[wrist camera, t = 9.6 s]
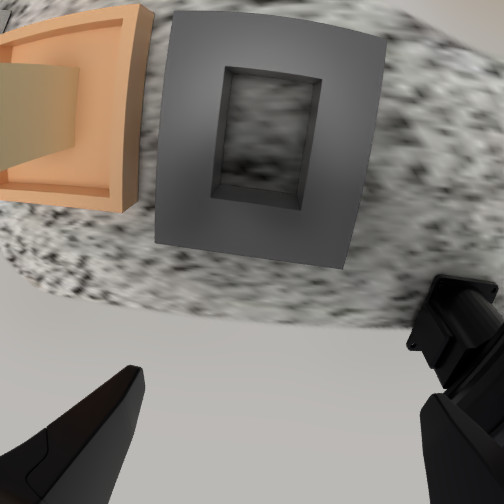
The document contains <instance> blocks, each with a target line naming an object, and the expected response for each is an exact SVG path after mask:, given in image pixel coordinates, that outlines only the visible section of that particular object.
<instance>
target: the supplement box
mask: <svg viewBox="0 0 504 504" xmlns="http://www.w3.org/2000/svg"><path fill="white" fill-rule="evenodd" d="M10 13H11V11H7V10H1V9H0V34H3V31H4V29H5V26H6V23H7V21H8V18H9V16H10Z"/></svg>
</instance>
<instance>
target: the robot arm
mask: <svg viewBox="0 0 504 504" xmlns="http://www.w3.org/2000/svg"><path fill="white" fill-rule="evenodd" d="M440 281H442V282H441V283H440V284H439V282H440ZM492 289H493V290H492ZM497 292H498V285H497V284H496V283H494V282H488V281H481V280H475V279H468V278H461V277H454V276H447V275H438V276H436V277H435V279H434V280H433V283H432V286H431V288H430V291H429V293H428V296H427V298H426V300H425V303H424V304H423V306H422V308H421V311H420V313H419V315H418V318H417V320H416V322H415V324H414V327H413V329H412V332H411V334H410V336H409V339H408V341H407V343H406V346H407V348H408V349H409V350H410V351H422V353H423V355H424V357H425V359H426V361H427V363H428V365H429V367H430V368H431V369H434V370H435V372H436V374H437V377H438V378H439V381H440V383H441V385H442V387H443V389H447V390H446V391H445V392H444V393H437V394H436V393H435V394H432V395H431V396H430V397H429V398H428V400H427V401H426V403H425V405H424V406H423V407H422V409H421V412H420V423H421V434H422V447H423V456H424V462H425V469H426V475H427V482H428V489H429V497H430V504H504V318H503V317H502V316H501V315H500V314H499V312H498V311H497V310H496V309H495V308H494V307H493V305H492V303H493V300H494V298H495V296H496V294H497ZM412 344H413V345H412ZM144 393H145V381H144V375H143V369H142V368H141V367H138V366H134V365H128V366H126V367H125V368H124V369H122V370H121V371H120V372H118V373H117V374H116V375H114V376H113V377H112V378H111V379H109V380H108V381H107V382H105V383H104V384H103V385H101V386H100V387H99V388H97V389H96V390H95V391H93V392H92V393H91V394H89V395H88V396H87V397H85V398H84V399H83V400H81V401H80V402H79V403H77V404H76V405H75V406H73V407H72V408H71V409H69V410H68V411H67V412H66V413H64V414H63V415H61V416H60V417H59V418H57V419H56V420H55V421H53V422H52V423H51V424H49V425H48V426H47V428H44V429H43V430H41V431H40V432H38V433H37V434H36V435H34V436H33V437H31V438H30V439H29V440H27V441H26V442H24V443H22V444H21V445H19V446H17V447H16V448H14V449H12V450H11V451H9V452H7V453H5V454H4V455H2V456H0V504H108V502H109V499H110V497H111V494H112V491H113V489H114V486H115V483H116V480H117V478H118V475H119V472H120V470H121V467H122V464H123V461H124V459H125V456H126V454H127V451H128V449H129V446H130V443H131V441H132V438H133V435H134V431H135V428H136V424H137V419H138V415H139V412H140V408H141V404H142V400H143V396H144Z"/></svg>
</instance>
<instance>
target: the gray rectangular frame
mask: <svg viewBox="0 0 504 504" xmlns="http://www.w3.org/2000/svg"><path fill="white" fill-rule="evenodd" d="M386 46H387V39H383V38H380V37H377V36H373V35H370V34H366V33H362V32H358V31H354V30H350V29H346V28H342V27H337V26H333V25H328V24H323V23H318V22H313V21H307V20H301V19H295V18H288V17H281V16H273V15H265V14H255V13H243V12H227V11H174V14H173V20H172V26H171V33H170V39H169V46H168V53H167V60H166V68H165V76H164V85H163V94H162V103H161V114H160V125H159V138H158V153H157V171H156V195H155V243H157V244H164V245H171V246H178V247H185V248H192V249H199V250H206V251H213V252H220V253H227V254H235V255H242V256H249V257H256V258H263V259H270V260H278V261H285V262H292V263H299V264H307V265H314V266H321V267H329V268H336V269H343V267H344V264H345V260H346V256H347V252H348V249H349V245H350V241H351V237H352V233H353V229H354V225H355V221H356V217H357V212H358V208H359V204H360V199H361V195H362V190H363V186H364V181H365V176H366V172H367V167H368V162H369V157H370V152H371V146H372V141H373V135H374V130H375V124H376V118H377V112H378V106H379V99H380V93H381V86H382V79H383V71H384V63H385V55H386ZM233 73H237V74H247V75H257V76H265V77H272V78H280V79H286V80H293V81H299V82H305V83H311V84H314V89H313V95H312V102H311V109H310V116H309V122H308V129H307V135H306V141H305V147H304V154H303V160H302V166H301V172H300V178H299V184H298V190H297V195H295V194H288V193H281V192H275V191H268V190H261V189H253V188H246V187H238V186H230V185H222V184H220V176H221V167H222V158H223V149H224V140H225V131H226V123H227V114H228V106H229V98H230V90H231V83H232V75H233Z"/></svg>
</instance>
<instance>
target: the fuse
mask: <svg viewBox="0 0 504 504" xmlns="http://www.w3.org/2000/svg"><path fill="white" fill-rule="evenodd" d="M79 70H80V68H76V67H67V66H56V65H43V64H25V63H0V172H1V171H3V170H6V169H8V168H11V167H14V166H17V165H19V164H22V163H25V162H28V161H31V160H34V159H37V158H40V157H43V156H46V155H49V154H52V153H56V152H59V151H62V150H65V149H69V148H72V147H74V141H75V117H76V102H77V90H78V79H79Z"/></svg>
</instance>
